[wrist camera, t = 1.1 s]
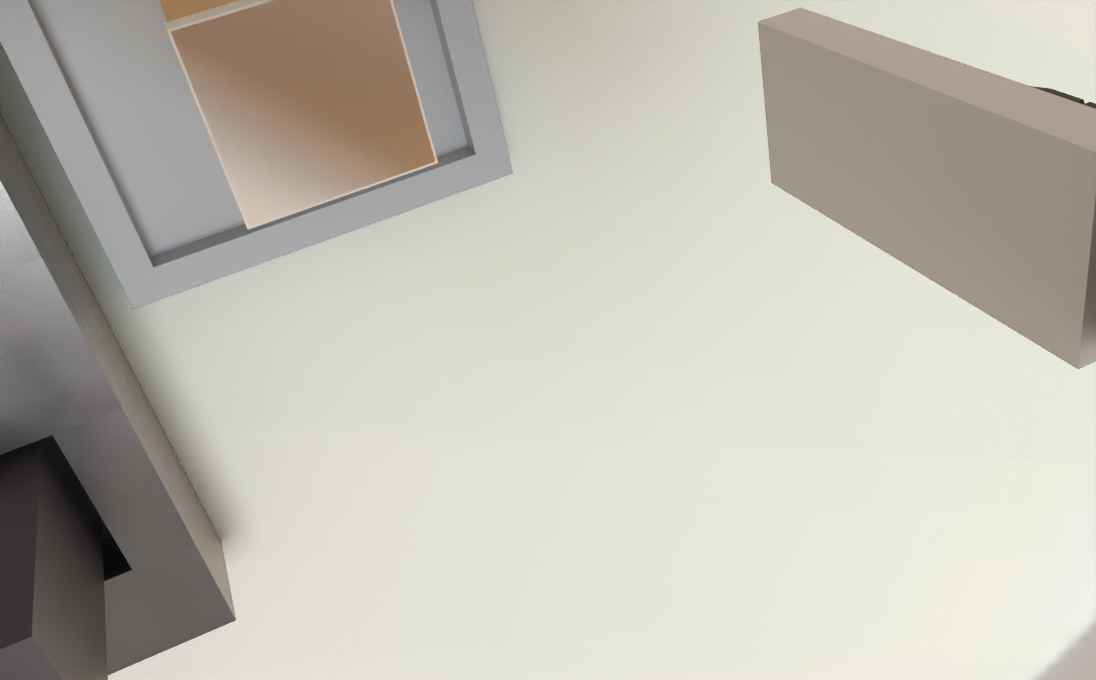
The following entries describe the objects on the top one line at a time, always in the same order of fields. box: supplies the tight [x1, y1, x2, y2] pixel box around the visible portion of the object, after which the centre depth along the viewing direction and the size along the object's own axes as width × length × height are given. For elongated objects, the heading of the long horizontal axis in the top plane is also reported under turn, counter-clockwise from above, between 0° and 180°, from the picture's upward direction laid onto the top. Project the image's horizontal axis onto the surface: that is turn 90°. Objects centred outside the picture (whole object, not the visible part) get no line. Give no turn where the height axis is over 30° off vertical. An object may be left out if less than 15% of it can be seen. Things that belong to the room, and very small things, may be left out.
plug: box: [160, 0, 438, 229], centre depth 24 cm, size 4×4×10 cm
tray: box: [0, 0, 513, 309], centre depth 28 cm, size 14×12×1 cm
